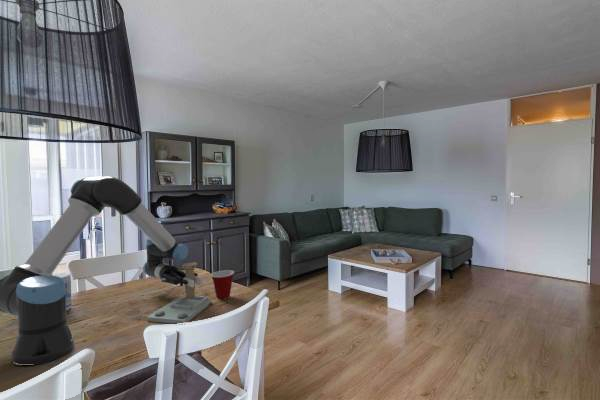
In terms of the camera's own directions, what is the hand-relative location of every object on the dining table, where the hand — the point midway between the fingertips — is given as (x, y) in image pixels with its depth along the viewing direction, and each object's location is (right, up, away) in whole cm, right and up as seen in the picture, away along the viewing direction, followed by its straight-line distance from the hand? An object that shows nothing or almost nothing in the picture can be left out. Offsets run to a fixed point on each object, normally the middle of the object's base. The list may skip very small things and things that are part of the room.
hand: (197, 282), depth 133 cm
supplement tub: (-58, -12, -1) cm, 60 cm away
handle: (-4, -8, +4) cm, 10 cm away
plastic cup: (+7, -11, +15) cm, 20 cm away
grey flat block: (-6, -12, -1) cm, 13 cm away
